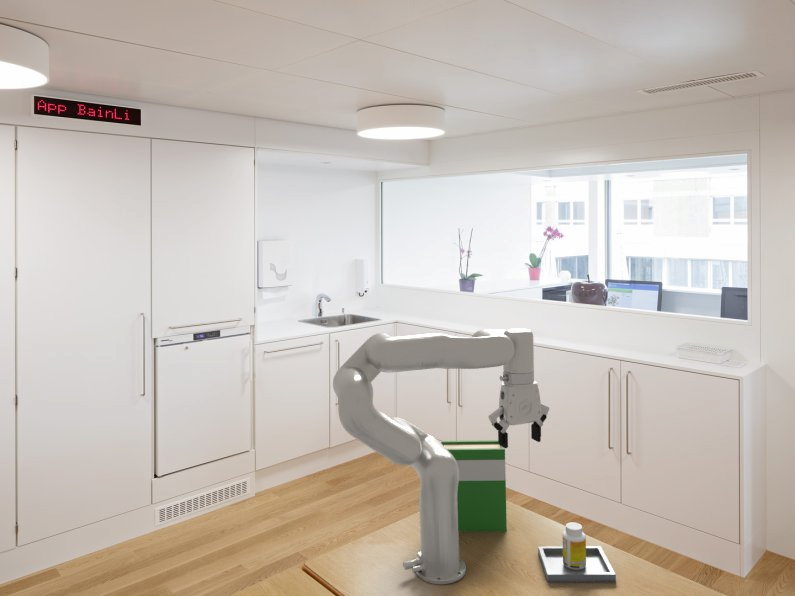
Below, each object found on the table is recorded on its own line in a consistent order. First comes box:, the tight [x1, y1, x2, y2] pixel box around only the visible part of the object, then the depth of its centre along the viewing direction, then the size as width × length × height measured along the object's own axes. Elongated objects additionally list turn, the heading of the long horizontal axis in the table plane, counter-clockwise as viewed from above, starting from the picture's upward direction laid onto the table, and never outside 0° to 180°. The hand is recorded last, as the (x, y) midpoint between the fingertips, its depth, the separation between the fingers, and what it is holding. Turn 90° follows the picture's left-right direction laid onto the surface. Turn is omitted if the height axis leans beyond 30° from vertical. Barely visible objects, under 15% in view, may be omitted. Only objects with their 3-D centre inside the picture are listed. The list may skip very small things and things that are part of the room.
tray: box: [537, 545, 617, 583], centre depth 148 cm, size 16×13×2 cm
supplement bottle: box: [562, 521, 587, 570], centre depth 147 cm, size 6×6×10 cm
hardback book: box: [440, 439, 508, 533], centre depth 170 cm, size 18×7×24 cm, turn 86°
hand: (519, 443), depth 151 cm, fingers open, 9 cm apart
